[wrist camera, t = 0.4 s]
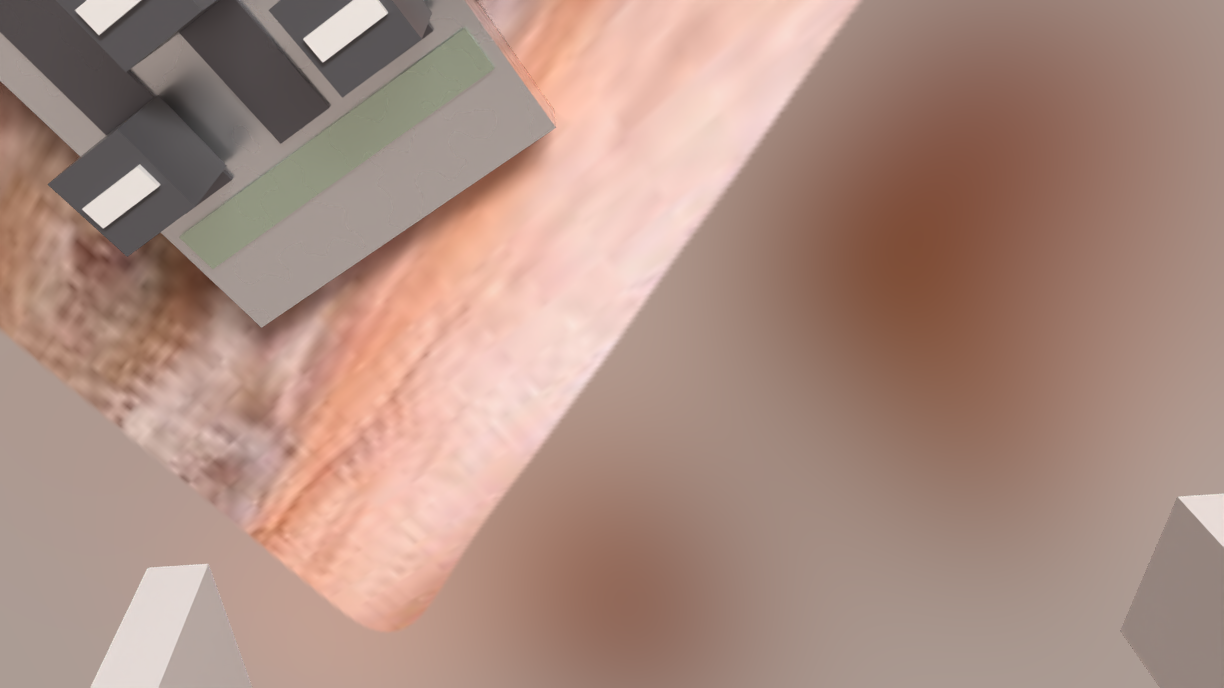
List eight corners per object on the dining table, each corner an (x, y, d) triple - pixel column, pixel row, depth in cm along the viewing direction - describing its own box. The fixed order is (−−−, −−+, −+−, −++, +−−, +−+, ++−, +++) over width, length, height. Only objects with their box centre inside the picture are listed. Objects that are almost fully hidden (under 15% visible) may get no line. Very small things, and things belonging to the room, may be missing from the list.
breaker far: (94, 145, 30) (44, 186, 27) (157, 94, 29) (114, 131, 26) (164, 212, 32) (124, 259, 28) (226, 165, 31) (193, 208, 28)
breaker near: (295, -14, 28) (266, 11, 25) (369, -72, 27) (349, -54, 24) (360, 66, 30) (340, 99, 26) (432, 13, 29) (421, 40, 26)
